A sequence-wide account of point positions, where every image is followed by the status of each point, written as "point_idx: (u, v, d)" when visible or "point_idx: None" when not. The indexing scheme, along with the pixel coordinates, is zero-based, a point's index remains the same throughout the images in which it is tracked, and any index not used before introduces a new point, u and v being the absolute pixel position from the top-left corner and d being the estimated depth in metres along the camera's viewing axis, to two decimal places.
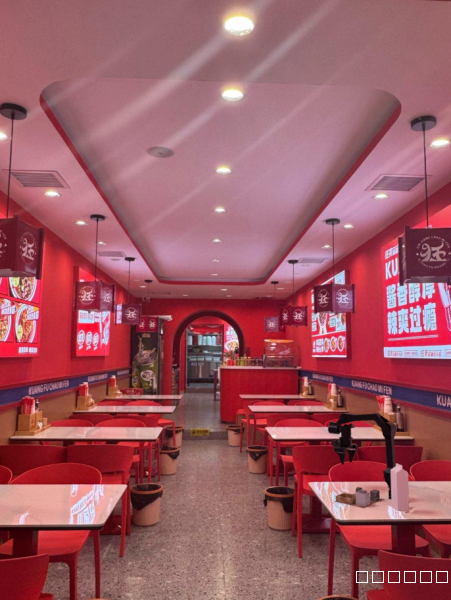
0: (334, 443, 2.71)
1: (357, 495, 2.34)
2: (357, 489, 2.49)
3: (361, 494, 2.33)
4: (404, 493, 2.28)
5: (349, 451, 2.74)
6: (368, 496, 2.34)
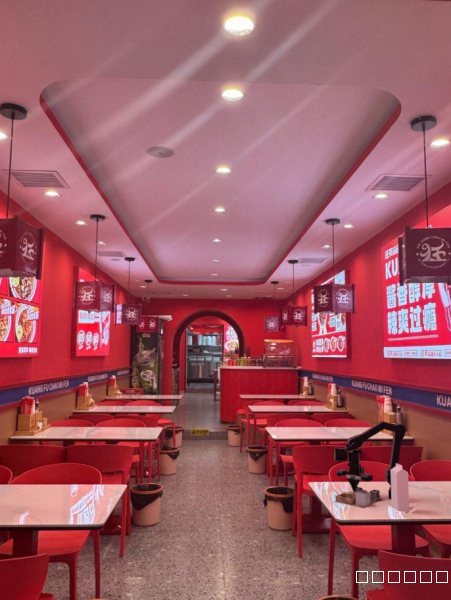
0: None
1: (357, 495, 2.34)
2: (357, 489, 2.49)
3: (361, 494, 2.33)
4: (404, 493, 2.28)
5: None
6: (368, 496, 2.34)
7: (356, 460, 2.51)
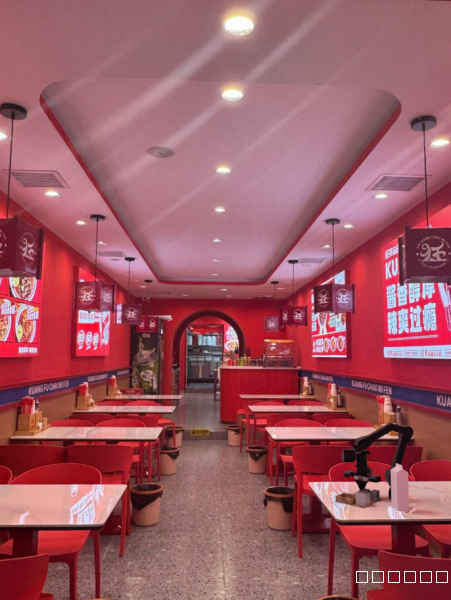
0: None
1: (357, 495, 2.34)
2: None
3: (361, 494, 2.33)
4: (404, 493, 2.28)
5: None
6: (368, 496, 2.34)
7: (365, 461, 2.49)
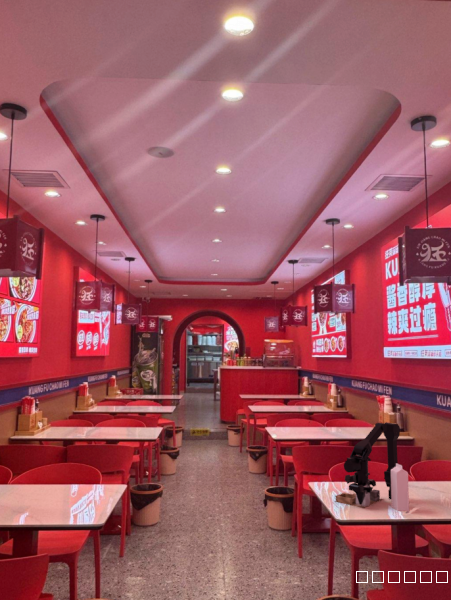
0: (348, 479, 2.37)
1: None
2: None
3: None
4: (404, 493, 2.28)
5: (363, 489, 2.38)
6: (368, 496, 2.34)
7: (367, 469, 2.35)
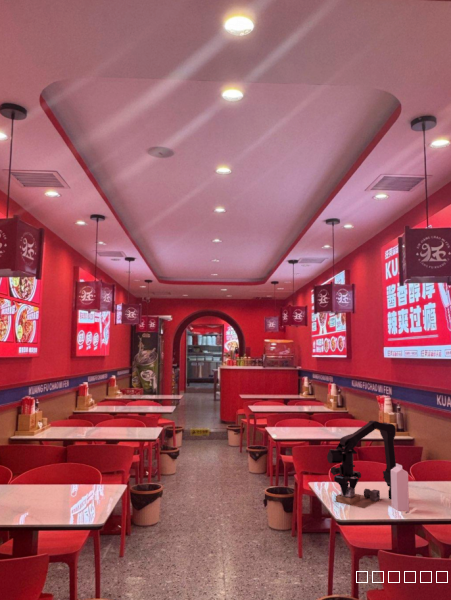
0: (334, 471, 2.43)
1: None
2: (365, 491, 2.46)
3: (347, 490, 2.39)
4: (404, 493, 2.28)
5: (350, 480, 2.46)
6: (353, 492, 2.41)
7: (351, 461, 2.41)
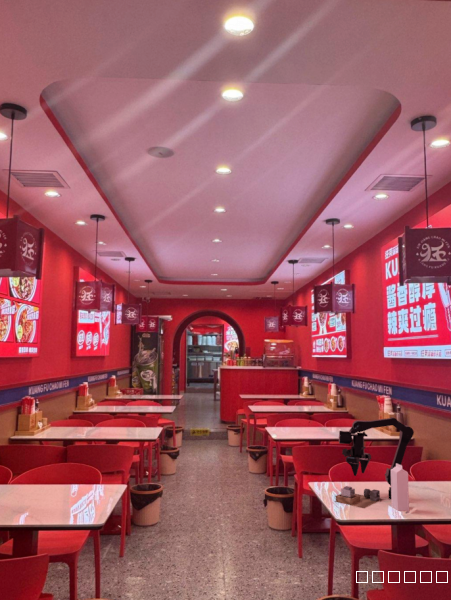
0: (345, 453, 2.55)
1: (342, 491, 2.41)
2: (365, 491, 2.46)
3: (347, 490, 2.39)
4: (404, 493, 2.28)
5: (361, 461, 2.58)
6: (353, 492, 2.41)
7: (360, 443, 2.53)
